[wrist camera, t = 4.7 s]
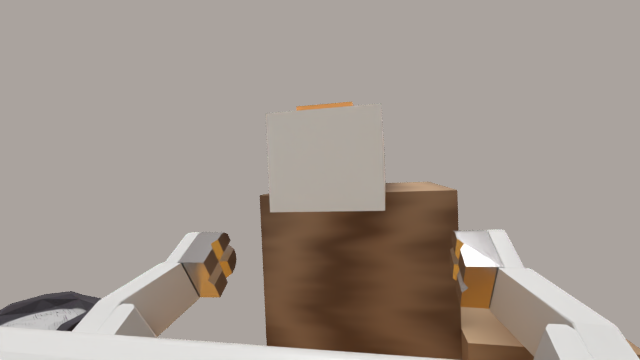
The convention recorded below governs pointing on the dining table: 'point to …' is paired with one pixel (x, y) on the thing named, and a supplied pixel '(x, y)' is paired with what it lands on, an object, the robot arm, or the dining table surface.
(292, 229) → the stand
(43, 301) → the portable speaker
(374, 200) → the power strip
